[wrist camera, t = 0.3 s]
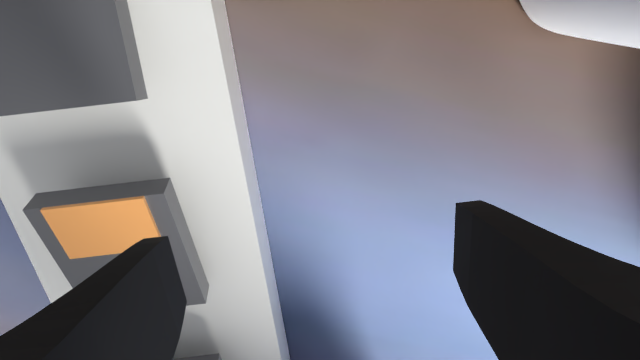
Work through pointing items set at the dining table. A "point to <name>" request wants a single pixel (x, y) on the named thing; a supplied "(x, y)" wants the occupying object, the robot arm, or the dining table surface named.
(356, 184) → the dining table surface
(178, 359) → the rocker switch
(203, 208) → the power strip
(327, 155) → the dining table surface
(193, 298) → the outlet rocker
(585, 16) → the can
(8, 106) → the outlet rocker
